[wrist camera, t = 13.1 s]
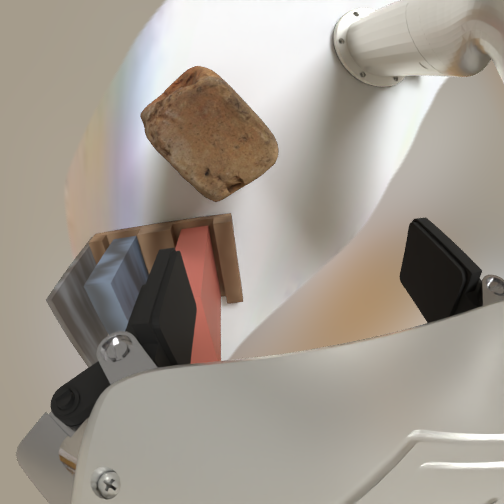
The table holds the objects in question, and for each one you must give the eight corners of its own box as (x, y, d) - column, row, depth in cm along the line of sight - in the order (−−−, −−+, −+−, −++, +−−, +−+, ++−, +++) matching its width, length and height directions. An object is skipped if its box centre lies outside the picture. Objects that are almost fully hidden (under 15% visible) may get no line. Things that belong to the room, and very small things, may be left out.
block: (263, 129, 35) (299, 159, 18) (219, 163, 37) (212, 225, 20) (211, 69, 30) (193, 34, 13) (166, 106, 32) (106, 114, 15)
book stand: (231, 213, 41) (234, 278, 27) (242, 290, 48) (249, 366, 34) (90, 234, 40) (44, 296, 26) (117, 302, 47) (91, 371, 33)
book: (208, 225, 40) (200, 297, 26) (220, 291, 46) (220, 371, 33) (181, 229, 40) (160, 300, 26) (196, 294, 46) (189, 373, 32)
